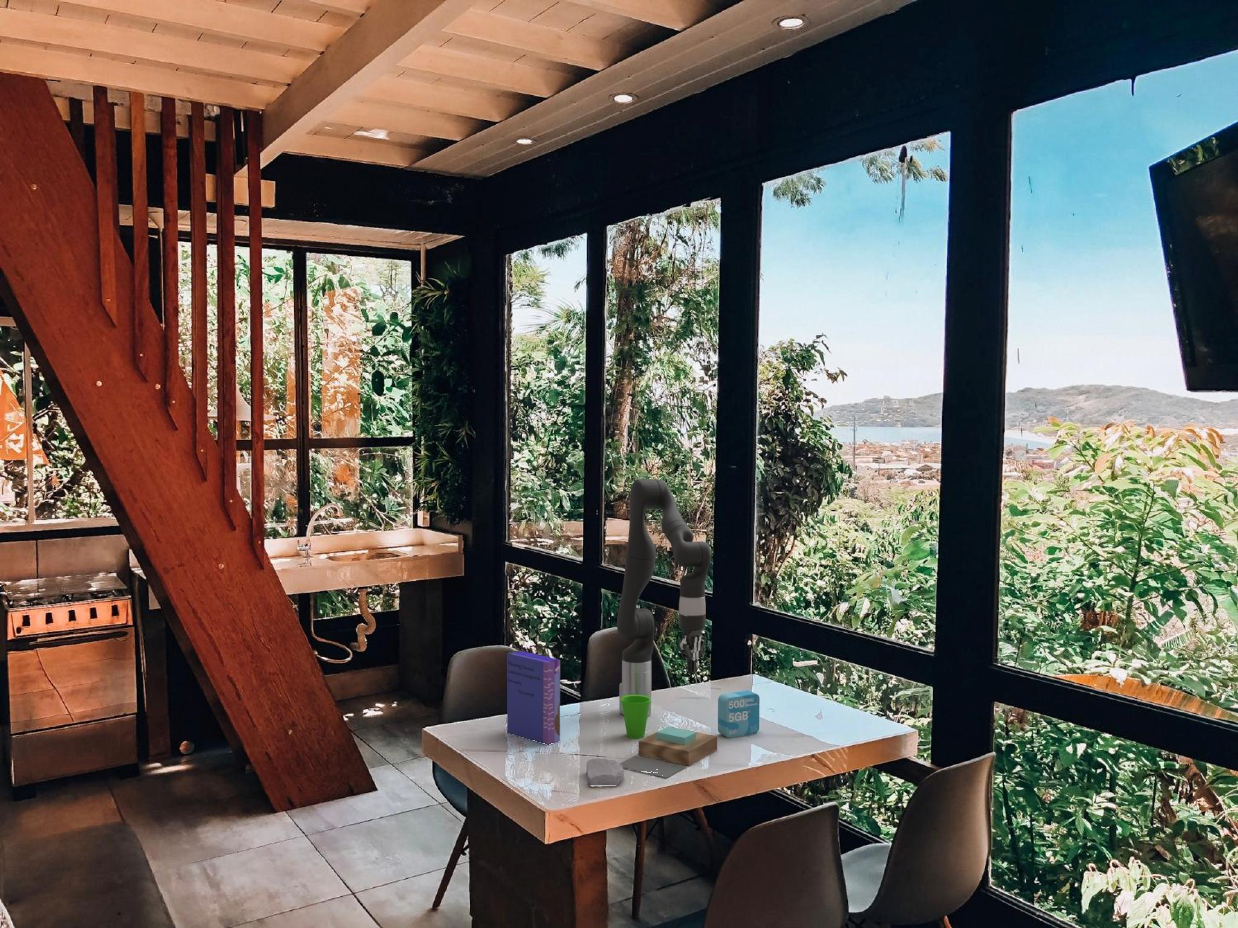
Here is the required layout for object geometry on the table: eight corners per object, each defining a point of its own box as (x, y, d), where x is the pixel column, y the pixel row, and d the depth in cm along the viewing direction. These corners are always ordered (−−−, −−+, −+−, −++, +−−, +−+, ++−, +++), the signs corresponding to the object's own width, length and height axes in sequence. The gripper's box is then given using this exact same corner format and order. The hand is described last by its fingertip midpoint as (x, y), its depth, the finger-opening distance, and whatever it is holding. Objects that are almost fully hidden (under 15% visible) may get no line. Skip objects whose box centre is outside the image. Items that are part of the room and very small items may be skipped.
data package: (726, 738, 288) (726, 697, 288) (717, 734, 292) (717, 694, 291) (759, 732, 294) (760, 692, 293) (750, 728, 298) (751, 689, 297)
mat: (615, 766, 264) (615, 765, 264) (635, 756, 272) (635, 755, 272) (666, 778, 255) (666, 777, 255) (685, 767, 263) (685, 766, 263)
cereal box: (559, 741, 285) (560, 658, 284) (547, 745, 281) (547, 661, 280) (519, 729, 296) (519, 649, 296) (507, 732, 293) (507, 652, 292)
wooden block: (638, 754, 273) (638, 740, 273) (668, 739, 286) (668, 726, 286) (688, 766, 264) (688, 751, 264) (717, 750, 278) (717, 735, 277)
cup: (655, 733, 293) (655, 696, 292) (643, 742, 284) (643, 704, 284) (628, 729, 296) (628, 693, 296) (615, 738, 288) (615, 700, 288)
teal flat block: (656, 739, 274) (656, 731, 274) (668, 733, 279) (668, 726, 279) (685, 744, 269) (685, 737, 269) (695, 739, 274) (695, 732, 274)
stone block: (620, 777, 261) (583, 771, 260) (624, 760, 260) (586, 753, 260) (624, 796, 249) (585, 789, 248) (628, 777, 249) (589, 771, 248)
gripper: (692, 607, 288) (692, 666, 288) (668, 614, 277) (668, 675, 277) (715, 609, 284) (714, 669, 284) (692, 616, 273) (691, 679, 273)
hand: (691, 672), depth 281 cm, fingers closed
